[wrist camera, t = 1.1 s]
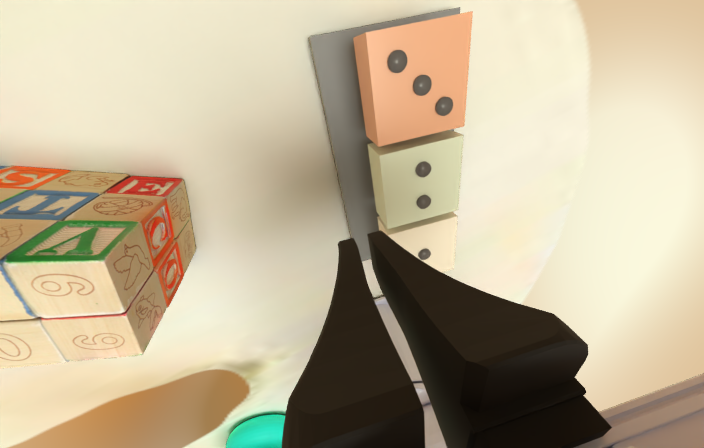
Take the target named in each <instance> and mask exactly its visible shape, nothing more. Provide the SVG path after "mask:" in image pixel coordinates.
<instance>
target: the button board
mask: <svg viewBox="0 0 704 448" xmlns="http://www.w3.org/2000/svg"><path fill="white" fill-rule="evenodd" d="M456 14H460V7H459V8H454V9H449V10H443V11H438V12H433V13H428V14H423V15H418V16H413V17H408V18H403V19H397V20H392V21H387V22H382V23H377V24H372V25H367V26H362V27H357V28H351V29H346V30H341V31H336V32H331V33H326V34H321V35H316V36H311V37H309V38H308V39H309V43H310V48H311V53H312V57H313V62H314V67H315V71H316V76H317V81H318V85H319V90H320V95H321V99H322V104H323V109H324V113H325V118H326V123H327V127H328V132H329V137H330V141H331V146H332V151H333V155H334V160H335V165H336V169H337V174H338V179H339V183H340V188H341V193H342V197H343V202H344V207H345V211H346V216H347V221H348V225H349V230H350V235H351V238H354V240H355V242H356V244H357V246H358V249H359V253H360V257H361V261H365V260H368V259H371V254H370V248H369V242H368V236H367V234H369V233H372V232H376V231H379V226H378V218H377V217H379V214H378V213H377V211H376V204H375V196H374V189H373V181H372V174H371V167H370V159H369V152H368V144H370V143H374V142H372V141H371V140H370V139H369V138H368V137H367V136H366V130H365V122H364V115H363V107H362V100H361V93H360V85H359V78H358V70H357V63H356V56H355V48H354V41H353V38H354V37H356V36H359V35H361V34H363V33H366V32H371V31H376V30H381V29H386V28H391V27H396V26H401V25H406V24H411V23H416V22H421V21H426V20H431V19H436V18H441V17H446V16H451V15H456ZM450 130H451V131H454V129H450Z"/></svg>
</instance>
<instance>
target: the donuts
mask: <svg viewBox="0 0 704 448" xmlns="http://www.w3.org/2000/svg"><path fill="white" fill-rule="evenodd" d="M284 421H285V415H278V414H271V415H263V416H258V417H255V418H252V419H249V420H247V421H245V422H243V423H242V424H240V425H239V426H237V427H236V428H235V429H234V430H233V431H232V432H231V434H230V435H229V437H228V440H227V443H226V448H282V437H283V427H284Z"/></svg>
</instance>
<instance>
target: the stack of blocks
mask: <svg viewBox="0 0 704 448" xmlns="http://www.w3.org/2000/svg"><path fill="white" fill-rule="evenodd" d="M195 251H196V246H195V240H194V235H193V229H192V223H191V219H190V209H189V203H188V198H187V193H186V188H185V184H184V181H183V179H176V178H158V177H139V176H132V177H131V176H129V175H127V174H116V173H102V172H87V171H70V170H61V169H48V168H35V167H20V166H9V167H4V166H0V369H1V368H11V367H22V366H34V365H46V364H59V363H65V362H69V361H82V360H93V359H105V358H117V357H126V356H138V355H142V354H143V353H144V351H145V349H146V347H147V345H148V344H149V342H150V340H151V338H152V336H153V334H154V332H155V330H156V328H157V326H158V324H159V322H160V320H161V318H162V317H163V314H164V312H165V310H166V308H167V307H169V305H170V303H171V301H172V299H173V297H174V295H175V293H176V291H177V289H178V287H179V285H180V283H181V281H182V279H183V276H184V273H185V272H186V270H187V268H188V266H189V264H190V262H191V259H192V257H193V255H194V253H195Z"/></svg>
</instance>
